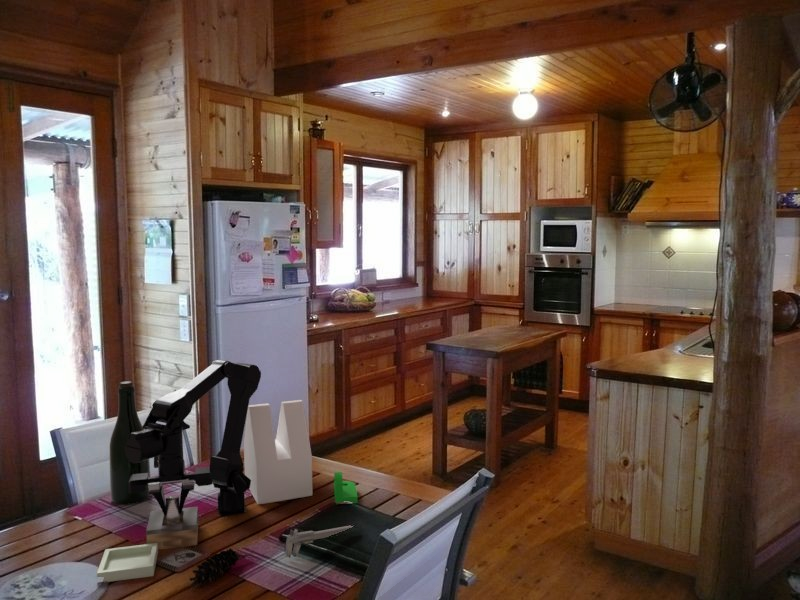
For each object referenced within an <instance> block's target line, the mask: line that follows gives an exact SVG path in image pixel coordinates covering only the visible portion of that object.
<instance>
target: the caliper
mask: <svg viewBox="0 0 800 600" xmlns="http://www.w3.org/2000/svg"><path fill="white" fill-rule="evenodd" d="M351 525H352V524H351ZM351 525H345V526H340V527H333V528H329V529H324V530H318V531H313V530H306V531H300V532H299V530H298V529H296V528H295V529H294V530H292V529H290V531H289V534H287V535H286V540H285V557H288V558H289V559H291V557H292V556H293V557H297V556H298V554H299V551H300V549H301V546H302V544H304V545H309V544H311V545H312V544H314V541H315V540H320V539H325V538H330V537H329V536H331V535H334V534H337V533H339V532H342V531H345V530H347V529H349V528H352V527H353V526H354V525H353V526H351ZM331 537H332V536H331Z"/></svg>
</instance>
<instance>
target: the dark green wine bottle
mask: <svg viewBox="0 0 800 600" xmlns="http://www.w3.org/2000/svg"><path fill="white" fill-rule="evenodd" d="M117 394H118V395H117V396H118V408H117V409H118V411H117V417H116V422H115V424H114V428H113V430H112V433H111V436H110V441H109V455H108V456H109V485H110V486H109V489H110V491H109V493H110V500H111V502H112V503H113V504H116V505H122V506H124V505H125V506H127V505H134V504H138V503H141V502H144V501H146V500H148V499H149V498H150V497H151V495H149V494H148V491H149V488H148V486H146V489H145V490H144V491H143V492H141V493H129V492H128V483H129V480H130V477H131V476H132V475H133V474H140V473H148V477H152V476H151V463H150V462H151V461H150V460H151V459H147V460H145V461H142V462H139V463H135V464H134V463H131V462H130V461H129V460H128V458H127V456H126V454H125V446H126V442H127V441H128V439H130V434H131V433H133V432H139V431H143V430H145V429H143V428H142V427H143V425H142V422H141V420H140V418H139V414H138V412H137V405H136V388H135V386H134V384H133V381H131V380H128V381H127V380H126V381H125V380H124V381H121V382H119V386H118V388H117Z"/></svg>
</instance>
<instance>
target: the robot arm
mask: <svg viewBox="0 0 800 600" xmlns="http://www.w3.org/2000/svg"><path fill="white" fill-rule="evenodd" d="M261 378H262V371H261V369H260V368H259V367H258V366H257V365H256V364H250V363H242V362H235V363H234V362H231V361H229V360H223V359H216V360H213V361H212V362H211V363H210V365H209V366H207V367H206V368H205V369H204V370H202V371H201V372H200V373H199V374H198V375H196V376H195V377H194V378H192V379H191V380H190V381H188V383H186V384H185V385H184V386H182V387H181V388H180V389H178V390H175V391H171V392H169V393H165V394H164V395H162V396H160V397H159V398H157V399H156V400H154V401H153V403H152V405H151V406H152V408H151V409H150V411H149V413H148V416H147V417H146V420H145V421H144V423H143V425H142V426H143V427H142V428H143V429H144V430H143V431H139V432H133V433H131V434H130V439H128V441H127V442H126V446H125V454H126V456H127V458H128V460H129V461H130V462H131V463H134V464H135V463H139V462H142V461H145V460H147V459H149V460H151V459H153V468H154V469H158V475H157V476H151V477H148V473H140V474H133V475H132V476H131V477H130V480H129V483H128V492H129V493H141V492H143V491H144V490H145V489H146V486H148V488H149V491H148V494H149V495H150V496H153V497H154V499H155V500H156V501H157V503H158V505H159V507H160V509H161V510H162V511H163V513H164V515H165V516H166V497H165V490H164V489H165V488H164V485H169V484H177V483H181V487H180V488H181V489H180V496H179V514H181V513H182V509H183V508H184V505H185V502H186V499H187V497H188V495H189V494H190V493H189V492H190V491H194V490H195V485H197V486H198V487H204V486H211V485H213V487H214V488H215V489H219V492H218V493H217V512H219V517H225V516H234V515H243V514H246V503H245V502H246V501H245V497H246V496H245V493H246V492H247V490H250V489H249V488H250V484H251V480H250V479H249V478H248V477H247V476H246V475H245V473H244V461H243V457H242V456H241V447H242V442H243V437H244V433H245V428H246V418H247V410H248V405H250V399H251V398H252V396H253V395H254V394H255V392H256V391H257V390H258V387H259V384H260V381H261ZM224 379H227V388H228V390H229V393H230V399H229V405H228V409H227V416H226V420H225V426H224V431H223V436H222V440H221V446H220V450H219V451H218V452H217V454H216V455H211V457H210V460H209V466H204V467H203V466H202V467H195V471H194V472H190V473H185V471H186V469H185V468H186V467H185V459H184V440H183V439H184V438H183V431H185V430H188V429H190V427H191V425H190V424H189V423H187V422H185V419H186V418H187V417H188V416H189V415H190V414H191V413H192V410H193V407H194V405H195V404H196V402H198V401H199V400H200V399H201V398H203V397H204V396H205V395H206V394H208V392H210V391H211V390H212V389H213V388H215V386H217V385H218V384H219V383H221V382H222V381H223V380H224ZM157 422H159V423H157ZM161 423H164V424H161Z"/></svg>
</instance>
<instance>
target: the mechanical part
mask: <svg viewBox="0 0 800 600" xmlns="http://www.w3.org/2000/svg"><path fill="white" fill-rule="evenodd" d="M333 475H334V481H333V491H334V502H335V503H339V502H343V501H350V502H354V503H358V502H359V499H358V492H357V491H358V490H357V486H356V483H355V482H353V481H350V480H349V481H348V480H347V481H346V480H344V481H343V472H342V471H339V472H338V471H337V472H336V471H335V472H334V474H333Z"/></svg>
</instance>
